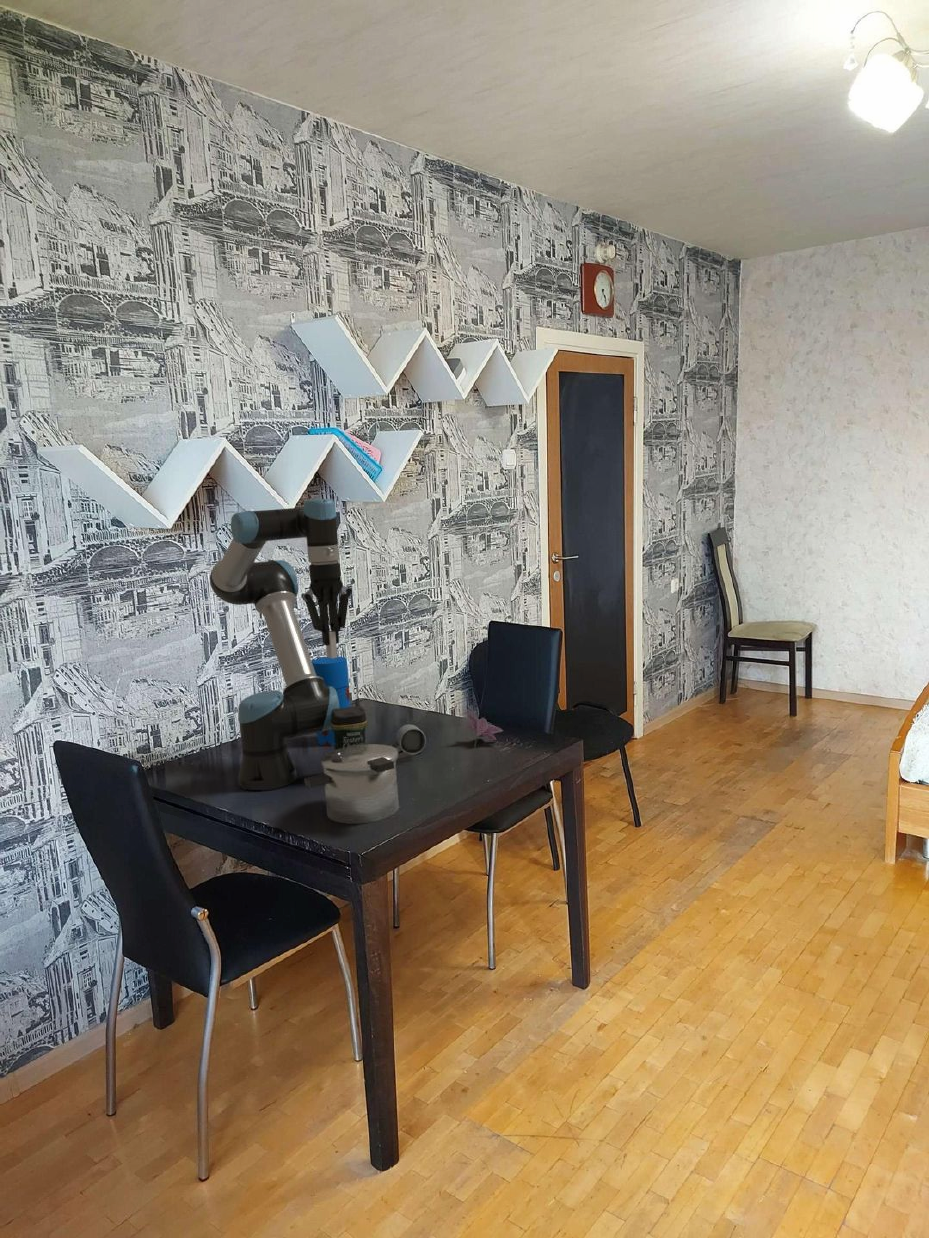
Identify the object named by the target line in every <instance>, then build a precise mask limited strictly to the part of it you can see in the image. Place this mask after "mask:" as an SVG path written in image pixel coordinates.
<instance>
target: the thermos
mask: <svg viewBox="0 0 929 1238" xmlns="http://www.w3.org/2000/svg"><path fill="white" fill-rule="evenodd" d="M311 661H312V664H313V667H314V670H315V673H316V676H319V677H321V678H323V680H324V682H325V685H326V687H327V686H331V687H334V689H335V690H336V692H337V695H338V700H339V708H346V707H352V706H351V695H350V684H349V683H350V681H349V671H348V670H349V669H348V662H347V658H346V657H344V656H337V658H329V657H327V656H324V657H318V658H315V659H311ZM316 737H317V744H318V745H320V746H323V747H324V746H325V747H334V732H333V730H332V729H330V730H326V731H322V732H321V733H319V732H318V733H316Z"/></svg>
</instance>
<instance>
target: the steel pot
mask: <svg viewBox="0 0 929 1238" xmlns="http://www.w3.org/2000/svg"><path fill="white" fill-rule="evenodd" d="M412 758H413V755H411V754H409V753H406V752H403V751H402V752H398V759H397V760H396V761H395V762H394V769H390V770H386V771H383V772H376V771H374V770H367V771H360V772H334V771H329V770H326V769H324V768H323V767H322V769H323V773H320V774H316V775H311V776H308V777H304V778H303V779H304V785H305V786H306V787H308V788H309V789H313V788H317V787H321V786H324V793H325V794H324V795H325V805H326V814H327V818H329V819H330V820H332V821H334V822H337V823H341V824H350V825H352V824H353V825H354V824H355V825H356V824H367V823H369V824H370V823H373V822H378V821H381V820H384V819H386V818H390V817H392V815H394V814H396V813H397V812H398V811H399V807H400V805H399V803H400V802H399V791H398V790H399V789H398V779H397V766H398V765H402V764H406V763H410V762H412V761H413V759H412Z"/></svg>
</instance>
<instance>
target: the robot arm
mask: <svg viewBox="0 0 929 1238" xmlns="http://www.w3.org/2000/svg"><path fill="white" fill-rule="evenodd" d="M230 521H231V522H230V532H231V536H232V539H231V541H230V544H229V545H228V547H227V549H226V551H225V553H224V555H223V556H222V558H221V560H220V561H217V562H216V563H215V564H214V565H213V567H212V568H211V569H212V570H211V571H210V575H209V585H210V588H211V590H212V591H213V593H214V594H215V595H216V596H217V597H218V598H219V599H220V600H222V601H223V602H225V603H228V604H231V605H234V606H235V605H236V606H237V605H238V606H240V605H250V604H253V605H254V608H255V610H256V612H257V613H258V614H259V613H260V614H261V615H263V617H264V620H265V624H266V627H267V631H268V633H269V635H270V636H269V637H270V638H271V642H272V646H273V649H274V653H275V655H276V659H277V661H278V665H279V667H280V671H281V673H282V676H283V680H284V683H285V687H284V689H283V690H282V692H281V691H280V690H265V691H260V692H257V693H253V694H252V695H249V696H247V697H244V699H242V700H241V701H240V702H239V704H238V707H237V708H238V710H237V711H238V719H237V721H238V722H239V723H238V724H239V732H240V733H239V734H240V742H241V750H242V756H241V757H242V758H241V761H240V766H239V770H238V775H237V779H238V780H237V781H238V786H239V785H240V786H241V787H243V788H245V789H244V790H246V789H250V790H249V791H253V790H261V791H270V790H275V789H280V788H283V787H285V786H289V785H291V784H292V783H294V782H296V780H297V778H298V777H297V776H298V775H297V774H298V773H297V769H296V766H295V763H294V762H293V759H292V757H291V755H290V753H289V749H288V742H287V741H288V740H289V739H292V738H298V737H303V736H306V735H313V734H317V733H318V732H319V733H321V732H322V731H326V730H330V729H332V728H331V712H332V709H338V708H339V700H338V695H337V692H336V690H335V689H334V687H331V686H327V687H326V685H325V682H324V680H323V678H321V677H319V676H316V673H315V670H314V667H313V664H312V659H311V656H310V653H309V652H310V651H309V650H308V647H307V643H306V641H305V638H304V635H303V631H302V629H301V626H300V624H299V621H298V618H297V615H296V611H295V609H294V606H293V605H294V603H295V602H296V599H297V598H296V597H297V596H298V594H299V582H298V577H297V573H296V572H295V570H294V567H293V566H292V564H290V563H289V562H288V561H286V560H283V559H280V560H279V559H277V560H275V559H270V560H267V561H256V560H257V558H258V556H259V554H260V553H261V550H262V549H263V547H264V546H265V544H267V542H269V541H278V540H279V541H280V540H290V539H302V538H306V547H307V559H308V562H309V563H310V564H309V566H308V568H309V569H308V571H309V579H310V585H309V587H308V590H307V591H305V593H301V595H300V597H301V599H302V600H303V601H304V603H305V605H306V608H307V610H308V614H309V618H310V621H311V624H312V626H313V629H314V630H315V631H317V632H321V637H322V639H321V640H322V645H324V646H325V648H326V657H329V658H337V657H338V648H337V644H339V643H340V637H339V631H341V629H342V628H345V627H346V621H347V614H348V607H349V599H350V596H351V594H352V592H353V589H352V588H349V587H346V586H344V584H343V582H342V580H341V579H342V577H341V575H342V572H341V564H340V563H339V562H338V561H340V550H339V537H338V526H337V525H338V524H337V522H338V521H337V511H336V503H335V501H334V499H332V498H321V499H319V498H317V499H306V500H305V501H304V502H303V506H297V507H292V508H280V509H278V508H277V509H265V510H262V509H261V510H246V511H240V512H235V513H234V514H233V515H232V517H231V519H230ZM339 594H340V595H339ZM338 596H339V601H338ZM314 597H315V599H317V605H318V609H317V605H316V603H315V601H314ZM338 602H339V603H338ZM240 786H239V787H240ZM241 787H240V788H241ZM243 788H242V789H243Z"/></svg>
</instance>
